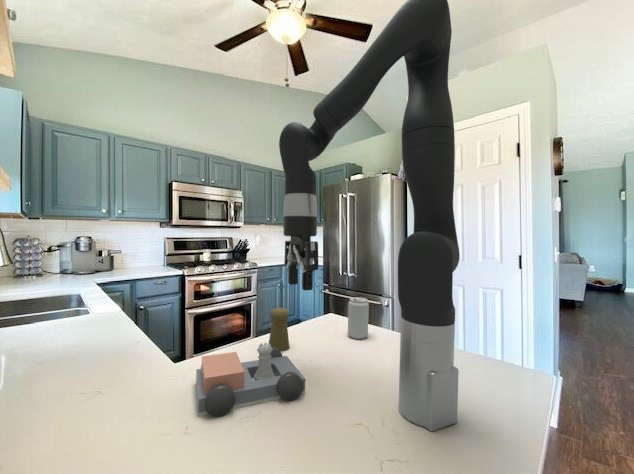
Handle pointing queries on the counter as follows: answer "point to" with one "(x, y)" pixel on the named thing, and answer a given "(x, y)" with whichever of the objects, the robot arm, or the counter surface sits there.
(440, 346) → the robot arm
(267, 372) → the rook chess piece
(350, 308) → the beverage can
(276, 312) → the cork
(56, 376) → the counter surface
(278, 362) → the toy truck
